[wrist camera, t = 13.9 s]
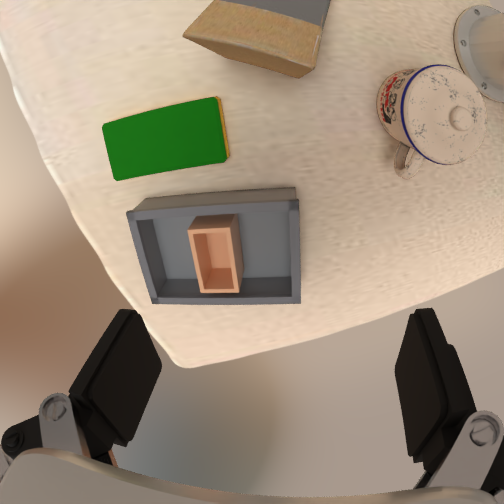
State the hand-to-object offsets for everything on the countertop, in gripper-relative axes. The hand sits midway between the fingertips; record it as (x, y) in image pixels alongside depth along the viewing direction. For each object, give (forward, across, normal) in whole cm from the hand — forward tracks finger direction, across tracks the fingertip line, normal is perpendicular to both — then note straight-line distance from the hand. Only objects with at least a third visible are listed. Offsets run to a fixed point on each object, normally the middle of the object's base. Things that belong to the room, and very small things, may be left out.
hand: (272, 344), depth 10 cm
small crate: (+25, +9, +10) cm, 29 cm away
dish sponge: (+27, +14, -4) cm, 30 cm away
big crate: (+26, +9, +10) cm, 29 cm away
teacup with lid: (+28, -13, -4) cm, 31 cm away
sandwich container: (+27, -1, -17) cm, 32 cm away
